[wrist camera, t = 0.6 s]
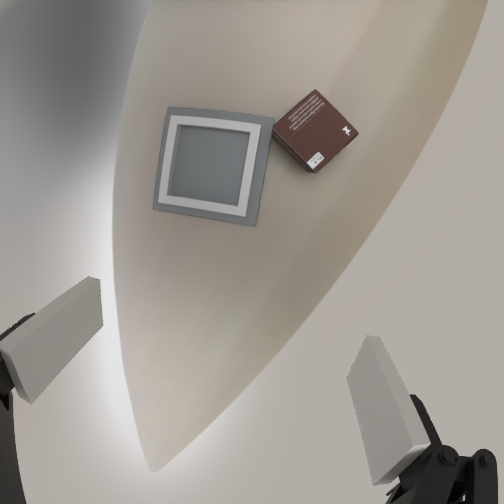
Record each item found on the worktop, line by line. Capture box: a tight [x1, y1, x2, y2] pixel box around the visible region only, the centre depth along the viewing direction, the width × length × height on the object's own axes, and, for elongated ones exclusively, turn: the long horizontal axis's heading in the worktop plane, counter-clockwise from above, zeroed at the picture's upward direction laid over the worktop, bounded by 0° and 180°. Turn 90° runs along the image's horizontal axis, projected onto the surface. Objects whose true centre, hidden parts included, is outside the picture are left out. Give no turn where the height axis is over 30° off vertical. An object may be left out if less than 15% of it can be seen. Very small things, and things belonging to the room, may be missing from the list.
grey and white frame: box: [153, 107, 274, 227], centre depth 31 cm, size 13×13×2 cm
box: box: [272, 89, 359, 173], centre depth 27 cm, size 6×6×7 cm
